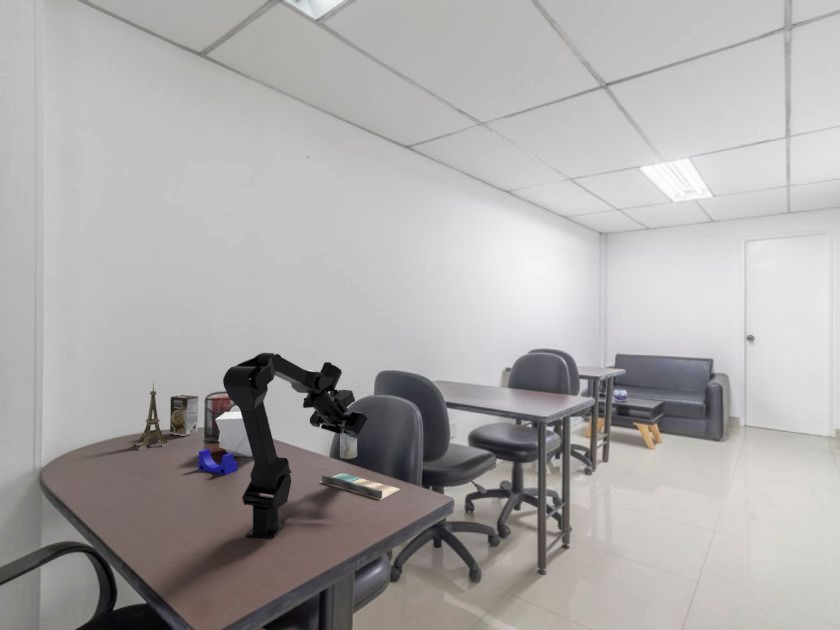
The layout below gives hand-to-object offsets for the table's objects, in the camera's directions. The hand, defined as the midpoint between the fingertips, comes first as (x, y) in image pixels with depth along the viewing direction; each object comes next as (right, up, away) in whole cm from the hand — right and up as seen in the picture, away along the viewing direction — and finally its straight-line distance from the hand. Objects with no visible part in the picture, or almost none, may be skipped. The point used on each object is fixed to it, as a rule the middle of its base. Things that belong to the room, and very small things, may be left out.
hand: (351, 435), depth 133 cm
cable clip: (-45, -14, +10) cm, 48 cm away
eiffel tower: (-83, -14, +38) cm, 92 cm away
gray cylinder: (-1, -6, -1) cm, 6 cm away
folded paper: (-43, -14, +27) cm, 52 cm away
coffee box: (-80, -15, +55) cm, 98 cm away
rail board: (+3, -13, -6) cm, 15 cm away
